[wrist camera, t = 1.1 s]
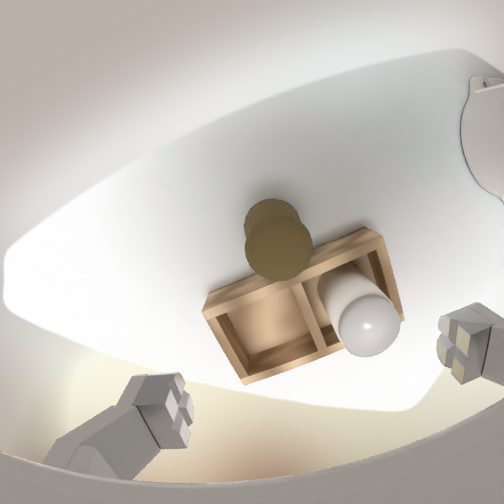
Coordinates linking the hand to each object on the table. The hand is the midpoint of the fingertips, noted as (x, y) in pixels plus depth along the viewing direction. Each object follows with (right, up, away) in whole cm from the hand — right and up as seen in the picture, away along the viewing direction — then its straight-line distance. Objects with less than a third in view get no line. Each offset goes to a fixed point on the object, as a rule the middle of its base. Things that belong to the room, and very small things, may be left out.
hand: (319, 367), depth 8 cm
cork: (0, +6, +25) cm, 25 cm away
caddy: (+4, -2, +26) cm, 27 cm away
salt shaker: (+8, 0, +25) cm, 26 cm away
